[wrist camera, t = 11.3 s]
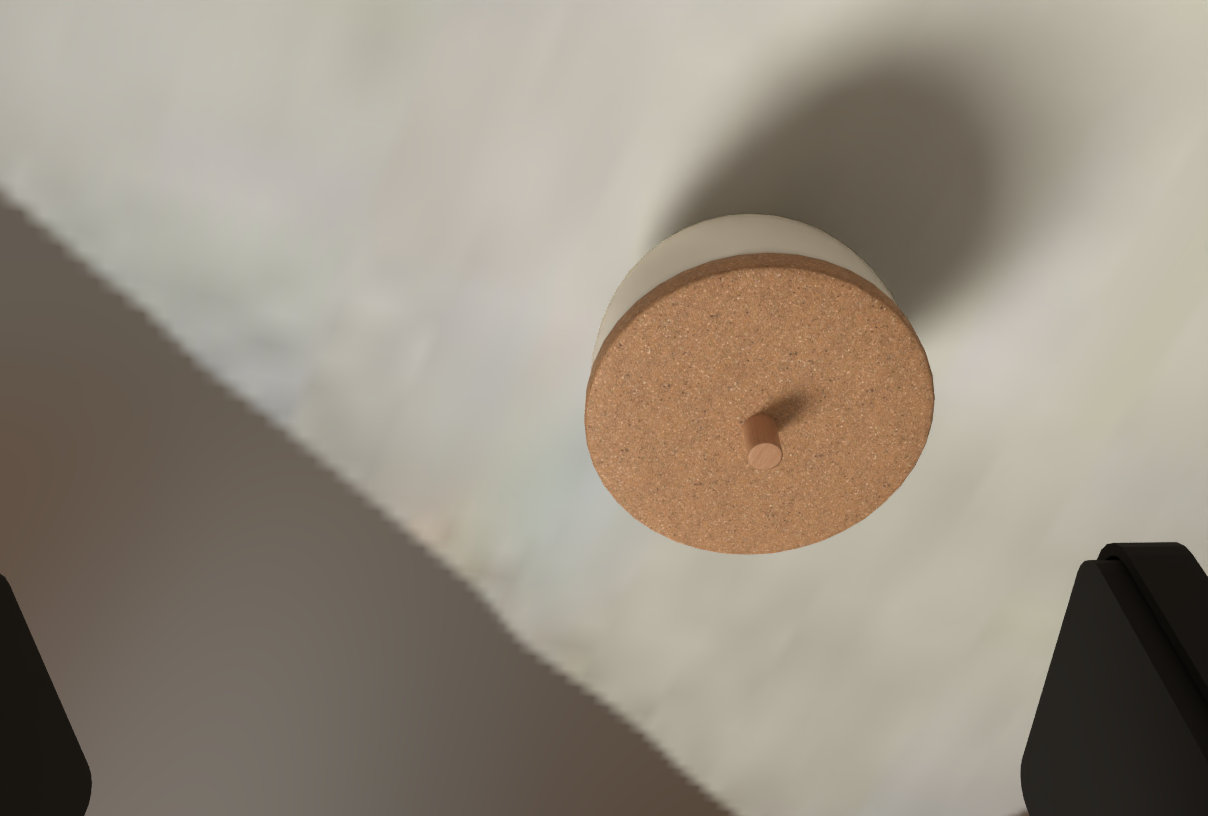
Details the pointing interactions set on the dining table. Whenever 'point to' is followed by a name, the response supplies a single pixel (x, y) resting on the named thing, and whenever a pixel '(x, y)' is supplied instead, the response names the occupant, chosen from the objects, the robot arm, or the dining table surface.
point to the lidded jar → (755, 388)
